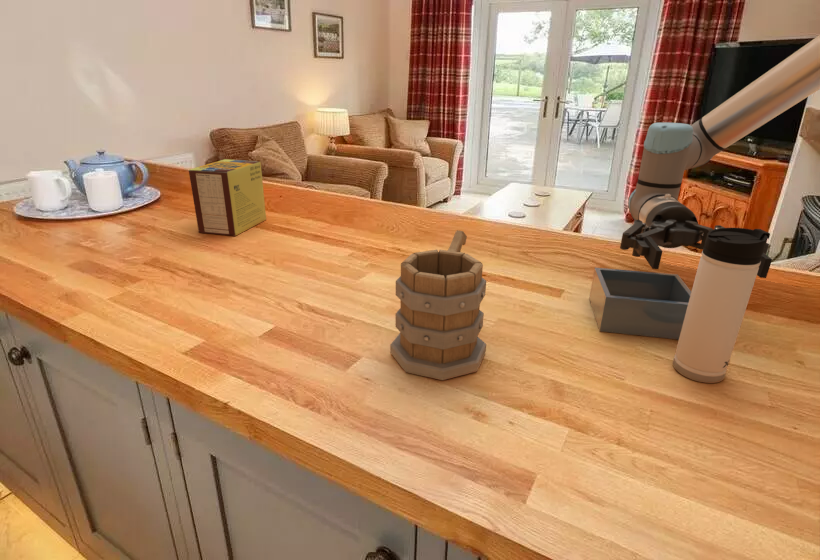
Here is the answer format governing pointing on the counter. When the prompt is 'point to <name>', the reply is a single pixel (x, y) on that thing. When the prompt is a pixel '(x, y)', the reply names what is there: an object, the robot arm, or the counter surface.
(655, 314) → the holder
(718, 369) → the travel mug
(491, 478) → the counter surface
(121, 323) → the counter surface
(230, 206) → the protein box
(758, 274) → the robot arm
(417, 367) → the tankard
